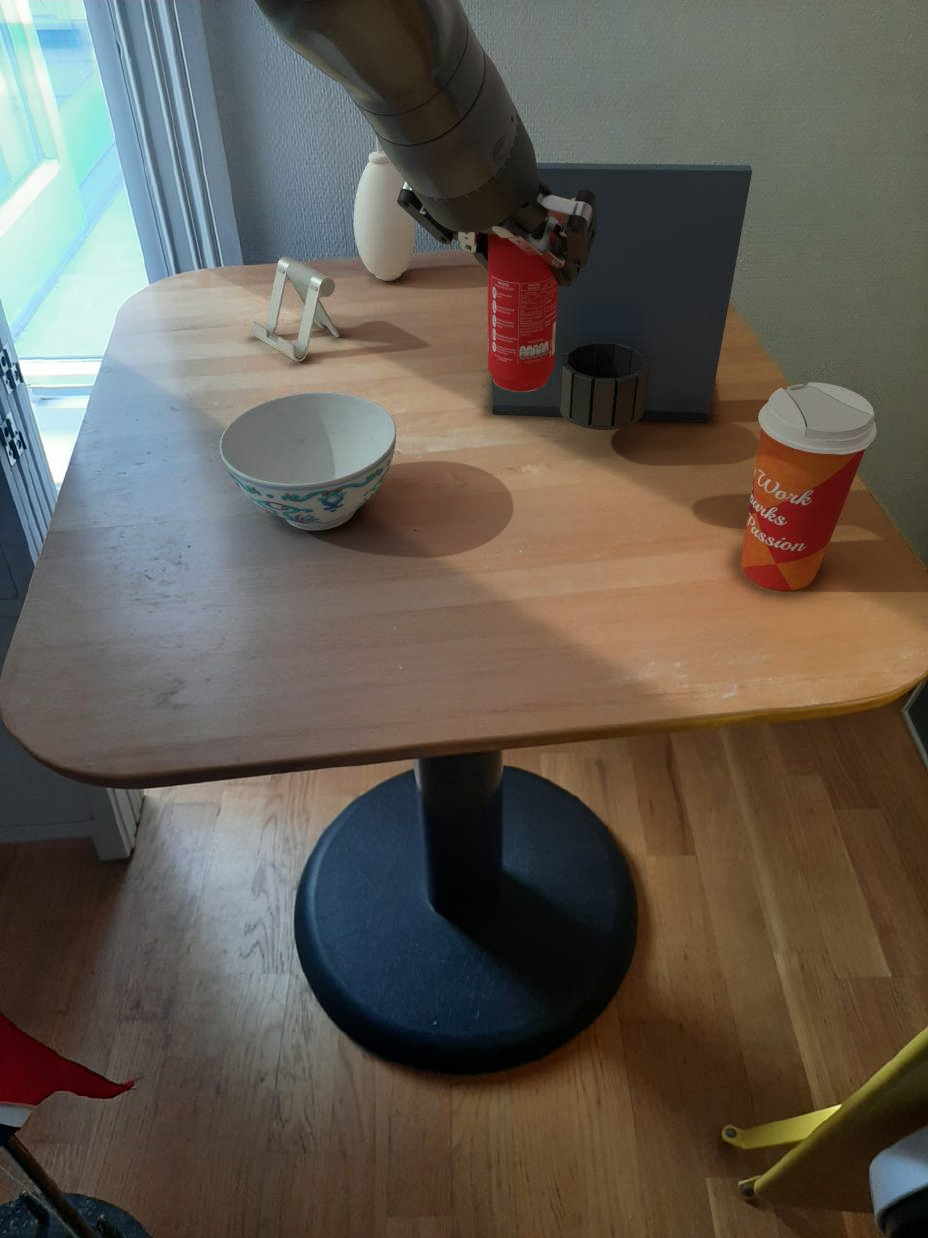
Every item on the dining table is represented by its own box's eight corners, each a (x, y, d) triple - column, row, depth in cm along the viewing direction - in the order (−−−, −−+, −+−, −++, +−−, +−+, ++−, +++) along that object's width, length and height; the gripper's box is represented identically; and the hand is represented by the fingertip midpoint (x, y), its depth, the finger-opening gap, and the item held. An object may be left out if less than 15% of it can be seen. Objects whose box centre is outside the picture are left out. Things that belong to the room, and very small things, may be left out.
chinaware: (314, 583, 76) (301, 507, 71) (202, 516, 83) (183, 442, 78) (436, 501, 84) (432, 427, 79) (324, 446, 92) (314, 375, 86)
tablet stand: (254, 339, 110) (241, 269, 104) (309, 319, 113) (299, 251, 108) (294, 364, 105) (282, 292, 99) (350, 342, 108) (342, 272, 103)
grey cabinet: (701, 377, 100) (740, 137, 84) (715, 472, 87) (765, 207, 71) (500, 370, 103) (500, 135, 86) (483, 461, 89) (480, 202, 73)
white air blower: (420, 287, 120) (412, 136, 107) (360, 292, 119) (345, 140, 107) (415, 264, 125) (406, 118, 113) (357, 268, 125) (343, 122, 113)
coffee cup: (709, 548, 78) (740, 388, 68) (794, 529, 80) (837, 370, 70) (761, 611, 72) (804, 446, 62) (852, 589, 74) (908, 424, 64)
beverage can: (490, 395, 71) (490, 237, 63) (485, 365, 75) (485, 211, 67) (557, 392, 71) (566, 234, 63) (548, 362, 75) (556, 209, 67)
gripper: (589, 82, 51) (640, 234, 66) (368, 61, 56) (464, 207, 71) (546, 212, 51) (607, 333, 66) (329, 179, 56) (434, 299, 72)
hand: (533, 267), depth 69 cm, fingers closed on beverage can, 5 cm apart
